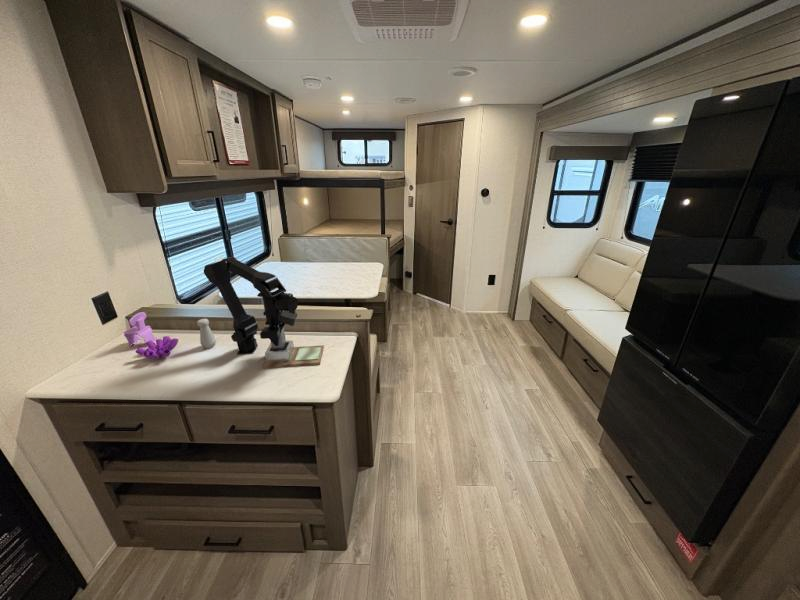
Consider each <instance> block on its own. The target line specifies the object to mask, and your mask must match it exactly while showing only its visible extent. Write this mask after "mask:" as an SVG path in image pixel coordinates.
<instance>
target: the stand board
mask: <svg viewBox="0 0 800 600" xmlns="http://www.w3.org/2000/svg"><path fill="white" fill-rule="evenodd" d="M323 349H325V345H309V346H307V345H306V346H294V352H293V354H292V357H291V359H290V361H287V362H270V363H267V361H266V359H264V363H263V364H262V369H266V368H267V369H268V368H269V369H270V368H271V369H273V368H286V367H287V368H288V367H299V366H300V367H301V366H303V367H304V366H317V365H318V366H320V365H321V364H322V363H321V362H322V357H323V354H324V353H323V352H324V350H323Z"/></svg>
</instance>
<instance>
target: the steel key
mask: <svg viewBox="0 0 800 600" xmlns="http://www.w3.org/2000/svg"><path fill="white" fill-rule="evenodd" d="M279 329H280V331H282V332H281V334H280V335H279V345H278V346H275V345H274V344H273V343H272V341H271V340H270V343H271V345H272V351H281V350H286V348H287V345H286V341H287V339H286V334H285V333H286V332H285V328H284V326H283V327H279Z"/></svg>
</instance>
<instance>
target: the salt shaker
mask: <svg viewBox="0 0 800 600" xmlns="http://www.w3.org/2000/svg"><path fill="white" fill-rule="evenodd" d="M196 324H197V326H198V327H199V333H200V334H199V335H200V336H199V341H200V342H199V344H200V345H201V346H202V348H204V349H207V350H208V349H211V348H214V347H215V346H216V343H217V339H216V338H215V334H213V331H212V330H211V328H210V325H209V324H210V321H209V319H208V318H200V319H199V320H197V321H196Z"/></svg>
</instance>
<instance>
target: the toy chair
mask: <svg viewBox="0 0 800 600" xmlns="http://www.w3.org/2000/svg"><path fill="white" fill-rule="evenodd" d="M146 318H147V313H146V312H145V311H144V312H143V311H139V312H138V313H136V314H134V315H133V316H132V317H131V318H130V319H129V321H128V324H129V325H130V326H131V328H128V329H127V330H125V331H124V332H123V333H124V334H123V336H124V337H125V339H126V340H127V344H128V347H129V346H130V345H131V344H133V343H135V342H137V341H138V340H140V339H141V338H142V340H144V344H145V347H146V346H147V345H146V342H148V341H150V340H151V341H153V342H154V341H156V340H158V339H157V338H156V337H155V336H154V334H153V330H152V327H151V325H146V324H145V320H146ZM140 337H141V338H140ZM140 341H141V340H140ZM137 343H138V342H137ZM135 344H136V343H135ZM130 347H131V346H130Z"/></svg>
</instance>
